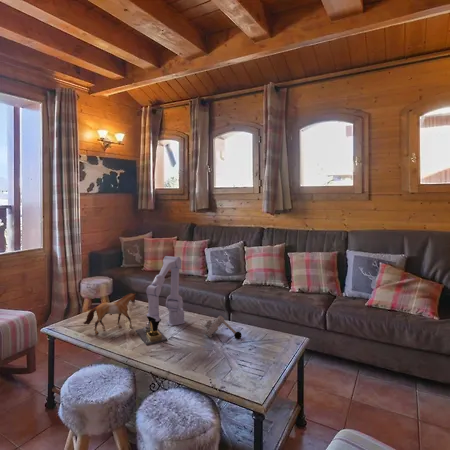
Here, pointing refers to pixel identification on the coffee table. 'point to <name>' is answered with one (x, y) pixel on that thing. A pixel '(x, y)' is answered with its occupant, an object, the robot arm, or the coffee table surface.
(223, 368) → the coffee table surface
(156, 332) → the brass fitting
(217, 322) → the valve
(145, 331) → the plate
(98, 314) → the horse figurine
